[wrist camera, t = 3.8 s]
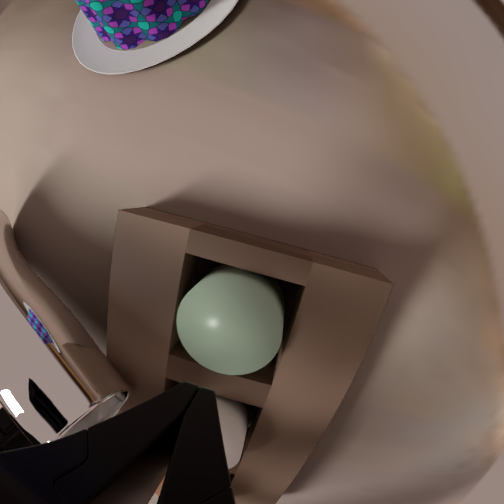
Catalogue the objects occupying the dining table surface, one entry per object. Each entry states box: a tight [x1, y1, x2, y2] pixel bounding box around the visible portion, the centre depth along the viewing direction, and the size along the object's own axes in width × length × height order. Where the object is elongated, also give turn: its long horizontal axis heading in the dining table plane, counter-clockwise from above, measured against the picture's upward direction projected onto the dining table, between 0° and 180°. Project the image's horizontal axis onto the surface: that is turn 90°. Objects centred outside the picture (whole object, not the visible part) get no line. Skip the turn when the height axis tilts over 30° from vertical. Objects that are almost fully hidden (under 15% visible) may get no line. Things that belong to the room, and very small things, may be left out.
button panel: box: [107, 207, 393, 504], centre depth 15 cm, size 20×12×2 cm, turn 166°
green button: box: [176, 264, 285, 375], centre depth 13 cm, size 4×4×3 cm
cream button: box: [216, 395, 249, 469], centre depth 13 cm, size 4×4×3 cm
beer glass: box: [0, 209, 133, 446], centre depth 12 cm, size 7×7×15 cm
